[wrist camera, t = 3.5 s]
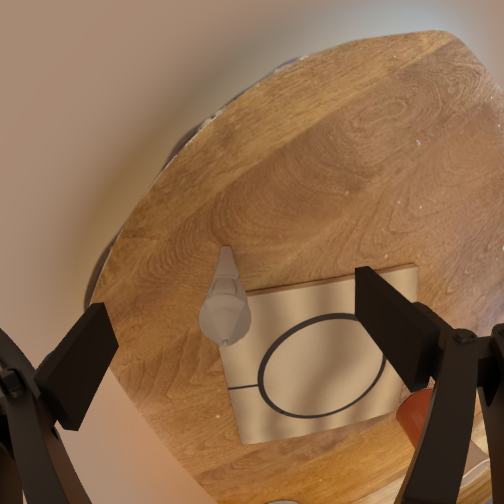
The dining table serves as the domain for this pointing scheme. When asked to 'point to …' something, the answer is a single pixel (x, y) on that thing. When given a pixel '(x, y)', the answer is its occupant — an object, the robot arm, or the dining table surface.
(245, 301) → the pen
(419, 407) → the pen pot
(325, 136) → the dining table surface
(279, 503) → the wineglass
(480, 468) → the dixie cup
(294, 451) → the dining table surface
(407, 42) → the dining table surface
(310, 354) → the drawing board
